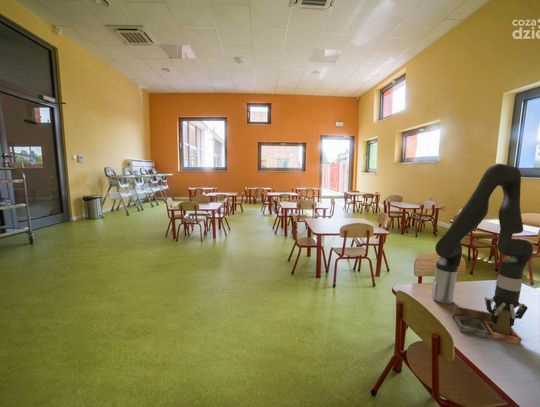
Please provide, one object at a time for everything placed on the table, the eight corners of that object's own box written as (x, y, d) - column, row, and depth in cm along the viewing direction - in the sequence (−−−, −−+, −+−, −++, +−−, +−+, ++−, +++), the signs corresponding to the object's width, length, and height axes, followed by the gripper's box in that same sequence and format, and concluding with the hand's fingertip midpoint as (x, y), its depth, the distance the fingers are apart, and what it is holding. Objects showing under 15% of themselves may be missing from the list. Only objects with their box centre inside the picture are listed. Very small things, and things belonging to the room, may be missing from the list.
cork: (487, 328, 114) (491, 304, 112) (500, 328, 114) (504, 304, 112) (500, 337, 108) (504, 312, 106) (514, 336, 108) (518, 312, 107)
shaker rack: (459, 331, 112) (460, 318, 112) (452, 317, 123) (454, 306, 122) (521, 345, 105) (524, 331, 104) (508, 329, 115) (511, 316, 114)
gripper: (490, 286, 107) (484, 325, 110) (535, 293, 102) (528, 334, 104) (483, 279, 114) (478, 315, 116) (525, 285, 109) (519, 323, 111)
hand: (501, 324), depth 110 cm, fingers closed on cork, 4 cm apart
